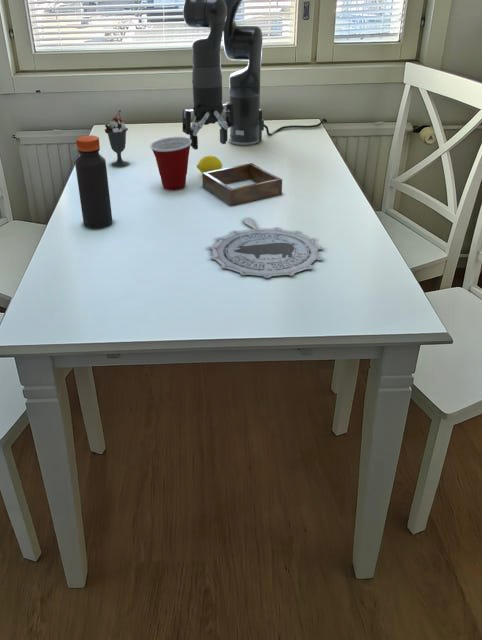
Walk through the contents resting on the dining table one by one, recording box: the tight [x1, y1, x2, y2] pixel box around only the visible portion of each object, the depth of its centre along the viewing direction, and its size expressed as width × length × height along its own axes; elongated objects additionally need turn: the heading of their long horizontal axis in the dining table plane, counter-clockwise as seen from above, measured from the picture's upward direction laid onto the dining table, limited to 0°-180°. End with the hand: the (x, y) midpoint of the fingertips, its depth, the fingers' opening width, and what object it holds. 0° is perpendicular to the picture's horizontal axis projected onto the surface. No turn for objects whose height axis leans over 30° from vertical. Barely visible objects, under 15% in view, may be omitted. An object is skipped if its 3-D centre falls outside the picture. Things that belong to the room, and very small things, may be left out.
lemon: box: [196, 154, 223, 174], centre depth 174 cm, size 7×5×5 cm
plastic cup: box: [149, 136, 192, 191], centre depth 165 cm, size 11×11×12 cm
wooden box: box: [201, 162, 283, 207], centre depth 164 cm, size 15×15×4 cm
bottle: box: [74, 134, 113, 230], centre depth 144 cm, size 7×7×20 cm
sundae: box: [104, 110, 129, 168], centre depth 181 cm, size 7×7×15 cm
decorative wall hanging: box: [209, 217, 325, 279], centre depth 137 cm, size 24×1×30 cm
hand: (209, 146), depth 171 cm, fingers open, 8 cm apart
